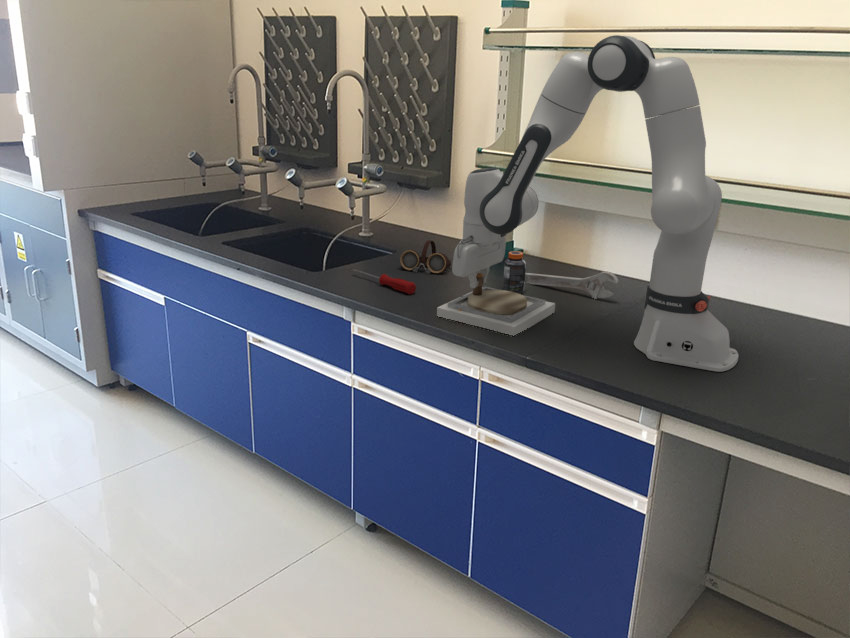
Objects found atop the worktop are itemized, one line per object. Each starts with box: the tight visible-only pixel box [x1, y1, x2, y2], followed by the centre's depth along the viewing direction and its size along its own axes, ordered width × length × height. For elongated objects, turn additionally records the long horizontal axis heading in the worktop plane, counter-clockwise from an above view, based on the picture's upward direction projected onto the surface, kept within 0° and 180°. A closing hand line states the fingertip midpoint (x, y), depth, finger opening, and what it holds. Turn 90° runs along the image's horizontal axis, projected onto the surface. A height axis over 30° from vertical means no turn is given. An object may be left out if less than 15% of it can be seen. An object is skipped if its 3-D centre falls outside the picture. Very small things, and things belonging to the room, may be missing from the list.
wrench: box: [525, 271, 619, 300], centre depth 202 cm, size 8×2×30 cm
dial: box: [468, 272, 527, 314], centre depth 182 cm, size 15×15×7 cm
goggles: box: [399, 239, 452, 275], centre depth 222 cm, size 15×13×10 cm
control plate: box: [436, 286, 556, 336], centre depth 183 cm, size 22×22×4 cm
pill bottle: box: [502, 250, 527, 294], centre depth 201 cm, size 6×6×11 cm
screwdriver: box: [353, 269, 417, 295], centre depth 205 cm, size 4×25×4 cm, turn 46°
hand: (477, 285), depth 185 cm, fingers closed on dial, 2 cm apart
